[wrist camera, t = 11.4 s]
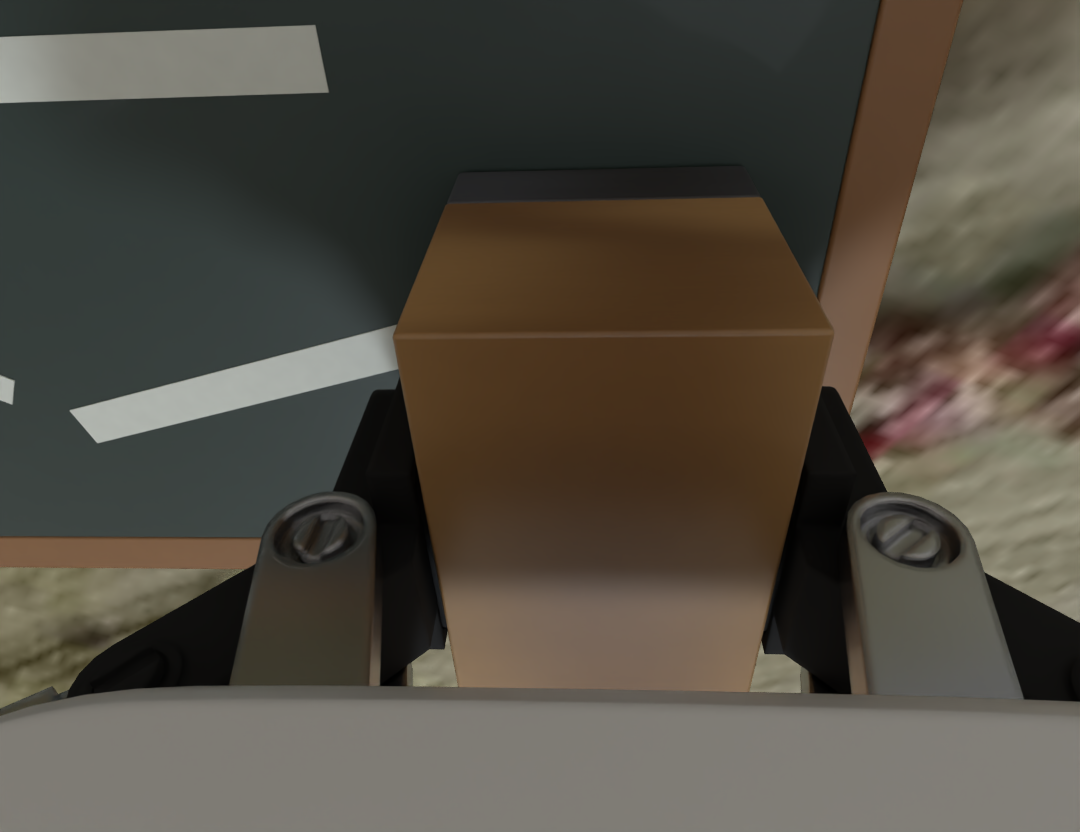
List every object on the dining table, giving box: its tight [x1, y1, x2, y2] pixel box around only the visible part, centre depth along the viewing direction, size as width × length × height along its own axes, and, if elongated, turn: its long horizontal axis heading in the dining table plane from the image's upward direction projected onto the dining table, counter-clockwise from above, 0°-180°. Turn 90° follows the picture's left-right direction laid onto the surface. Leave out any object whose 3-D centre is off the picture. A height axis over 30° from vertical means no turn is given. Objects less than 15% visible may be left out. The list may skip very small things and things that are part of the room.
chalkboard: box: [0, 0, 963, 569], centre depth 12 cm, size 24×14×1 cm, turn 92°
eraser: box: [393, 166, 835, 692], centre depth 10 cm, size 4×7×4 cm, turn 2°
